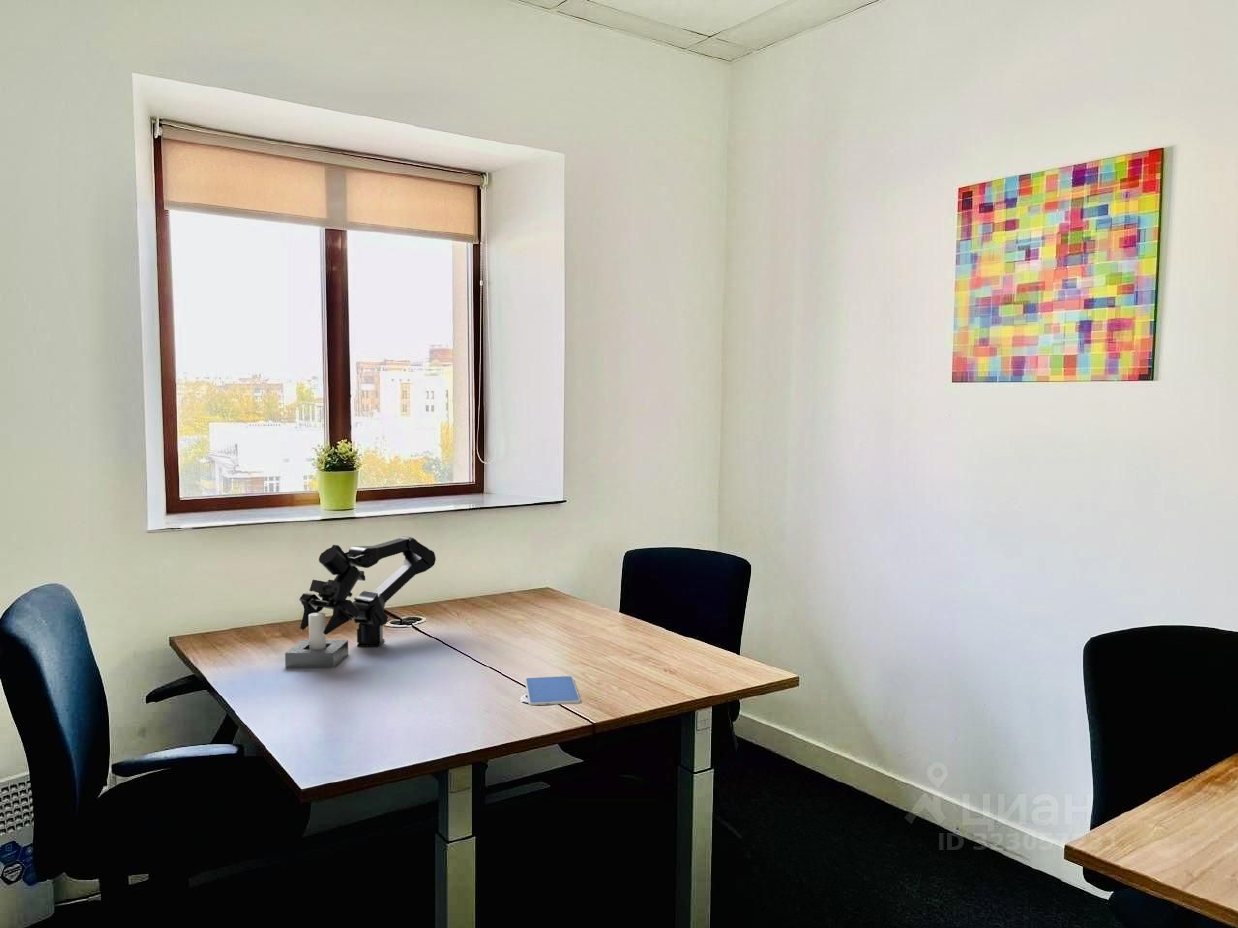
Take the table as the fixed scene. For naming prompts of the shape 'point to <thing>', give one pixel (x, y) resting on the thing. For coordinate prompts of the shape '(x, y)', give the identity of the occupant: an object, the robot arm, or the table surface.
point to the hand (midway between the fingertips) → (313, 631)
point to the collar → (316, 655)
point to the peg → (317, 631)
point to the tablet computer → (551, 690)
